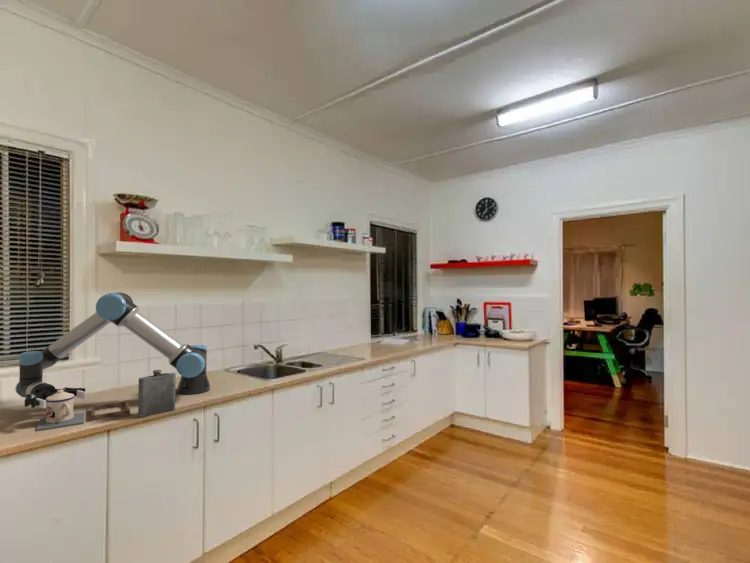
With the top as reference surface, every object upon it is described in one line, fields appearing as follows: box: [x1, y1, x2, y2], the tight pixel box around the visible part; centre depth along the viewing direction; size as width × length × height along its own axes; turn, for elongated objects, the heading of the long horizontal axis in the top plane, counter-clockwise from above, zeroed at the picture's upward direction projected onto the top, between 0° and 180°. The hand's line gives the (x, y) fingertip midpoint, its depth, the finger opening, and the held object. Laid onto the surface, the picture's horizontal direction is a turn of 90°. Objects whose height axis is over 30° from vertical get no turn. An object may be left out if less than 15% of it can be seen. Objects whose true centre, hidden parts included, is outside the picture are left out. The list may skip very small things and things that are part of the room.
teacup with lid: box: [45, 390, 76, 423], centre depth 158 cm, size 12×9×12 cm
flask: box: [137, 369, 177, 419], centre depth 169 cm, size 4×14×18 cm, turn 139°
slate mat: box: [36, 412, 85, 432], centre depth 157 cm, size 14×14×1 cm
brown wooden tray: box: [91, 400, 131, 422], centre depth 169 cm, size 13×16×2 cm
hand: (66, 400), depth 156 cm, fingers open, 13 cm apart
